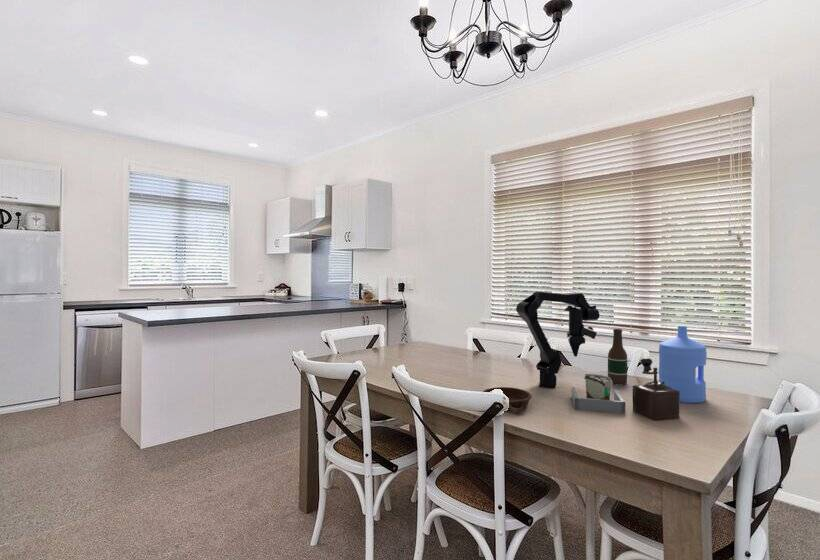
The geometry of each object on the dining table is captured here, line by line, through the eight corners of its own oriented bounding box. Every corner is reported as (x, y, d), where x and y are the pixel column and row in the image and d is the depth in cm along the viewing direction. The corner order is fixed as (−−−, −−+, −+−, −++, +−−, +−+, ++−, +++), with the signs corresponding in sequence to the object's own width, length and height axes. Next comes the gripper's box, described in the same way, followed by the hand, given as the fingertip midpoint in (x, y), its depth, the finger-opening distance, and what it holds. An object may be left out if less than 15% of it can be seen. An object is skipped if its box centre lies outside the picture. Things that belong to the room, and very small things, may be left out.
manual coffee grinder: (682, 418, 140) (683, 365, 140) (654, 421, 138) (655, 367, 138) (646, 404, 156) (647, 356, 155) (621, 406, 153) (621, 357, 153)
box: (574, 409, 150) (575, 398, 150) (571, 396, 165) (571, 386, 164) (625, 413, 145) (625, 402, 145) (617, 400, 160) (617, 390, 160)
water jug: (664, 402, 158) (665, 328, 157) (653, 390, 173) (654, 323, 172) (712, 405, 153) (713, 330, 153) (697, 393, 168) (698, 324, 168)
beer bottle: (631, 384, 183) (631, 329, 183) (618, 385, 180) (618, 330, 180) (616, 379, 190) (617, 327, 190) (603, 381, 187) (604, 328, 187)
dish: (514, 396, 167) (514, 383, 167) (544, 414, 145) (544, 400, 145) (473, 399, 163) (473, 386, 163) (497, 418, 142) (497, 404, 141)
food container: (620, 408, 151) (620, 380, 151) (605, 409, 150) (606, 382, 149) (597, 398, 163) (598, 372, 163) (584, 399, 162) (584, 373, 161)
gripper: (598, 324, 173) (598, 361, 173) (593, 319, 190) (592, 353, 191) (569, 323, 176) (569, 360, 176) (567, 318, 194) (566, 352, 194)
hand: (575, 356), depth 184 cm, fingers closed
